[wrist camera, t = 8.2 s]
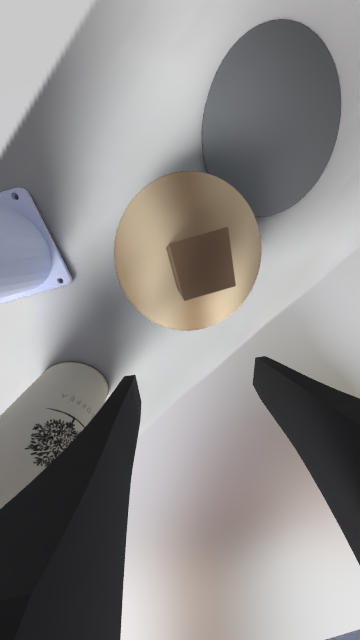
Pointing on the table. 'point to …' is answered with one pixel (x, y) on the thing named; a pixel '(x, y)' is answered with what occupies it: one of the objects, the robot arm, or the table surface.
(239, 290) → the lid
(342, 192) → the table surface
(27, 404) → the travel mug
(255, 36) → the mat
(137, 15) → the table surface
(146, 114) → the table surface
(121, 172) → the table surface
